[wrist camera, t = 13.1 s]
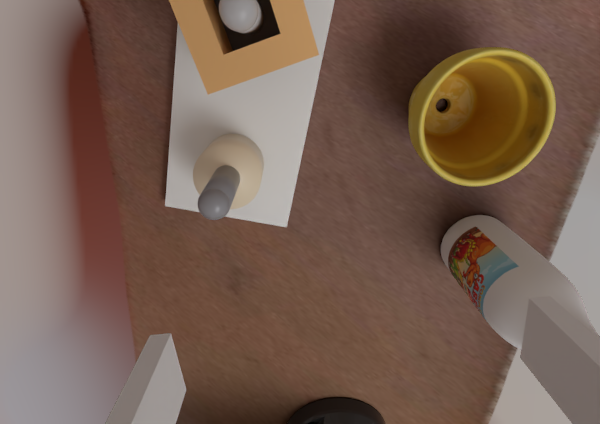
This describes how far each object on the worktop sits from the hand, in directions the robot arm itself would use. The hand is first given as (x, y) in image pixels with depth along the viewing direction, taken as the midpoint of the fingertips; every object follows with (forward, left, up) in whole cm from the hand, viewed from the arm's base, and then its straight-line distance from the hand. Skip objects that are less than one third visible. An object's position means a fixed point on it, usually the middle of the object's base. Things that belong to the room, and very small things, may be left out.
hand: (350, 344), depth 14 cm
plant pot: (+8, -11, -27) cm, 31 cm away
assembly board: (+5, +8, -27) cm, 29 cm away
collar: (+11, +8, -21) cm, 25 cm away
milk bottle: (-6, -20, -27) cm, 35 cm away
